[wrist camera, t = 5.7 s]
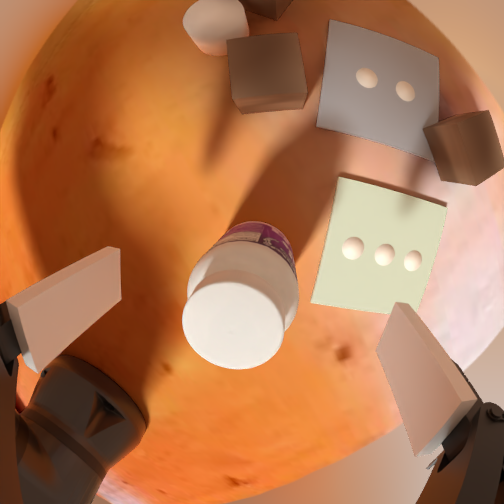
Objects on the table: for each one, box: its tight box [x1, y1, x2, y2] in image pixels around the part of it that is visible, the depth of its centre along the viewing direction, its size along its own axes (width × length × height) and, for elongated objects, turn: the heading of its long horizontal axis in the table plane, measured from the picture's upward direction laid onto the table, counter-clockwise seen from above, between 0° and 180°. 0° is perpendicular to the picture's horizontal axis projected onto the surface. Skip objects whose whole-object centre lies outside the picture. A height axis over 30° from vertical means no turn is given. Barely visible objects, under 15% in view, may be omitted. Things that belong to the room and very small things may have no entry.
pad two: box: [316, 19, 439, 161], centre depth 15 cm, size 9×9×1 cm
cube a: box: [226, 33, 308, 114], centre depth 14 cm, size 4×4×4 cm
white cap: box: [183, 0, 249, 56], centre depth 14 cm, size 4×4×3 cm
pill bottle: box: [182, 221, 299, 369], centre depth 15 cm, size 5×5×10 cm
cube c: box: [423, 110, 504, 186], centre depth 13 cm, size 4×4×4 cm
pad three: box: [310, 177, 448, 314], centre depth 18 cm, size 9×9×1 cm
